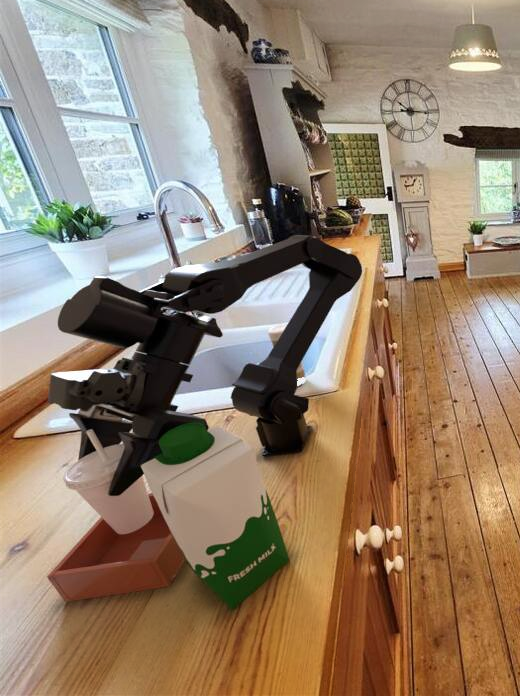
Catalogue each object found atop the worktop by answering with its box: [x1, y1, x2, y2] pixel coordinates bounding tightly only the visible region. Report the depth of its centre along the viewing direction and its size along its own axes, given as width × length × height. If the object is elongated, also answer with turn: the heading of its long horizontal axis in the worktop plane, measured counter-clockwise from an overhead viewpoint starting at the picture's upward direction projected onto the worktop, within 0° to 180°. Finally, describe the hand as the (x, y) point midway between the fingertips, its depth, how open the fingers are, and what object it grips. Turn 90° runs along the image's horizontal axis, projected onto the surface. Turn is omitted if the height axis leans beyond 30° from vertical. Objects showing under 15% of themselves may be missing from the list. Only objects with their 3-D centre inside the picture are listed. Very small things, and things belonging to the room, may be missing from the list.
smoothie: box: [62, 429, 154, 534], centre depth 48 cm, size 6×6×14 cm
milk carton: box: [141, 422, 291, 611], centre depth 46 cm, size 9×9×20 cm
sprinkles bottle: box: [267, 323, 306, 381], centre depth 87 cm, size 5×5×13 cm
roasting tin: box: [46, 492, 187, 603], centre depth 52 cm, size 11×11×4 cm
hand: (96, 487), depth 47 cm, fingers closed on smoothie, 6 cm apart
